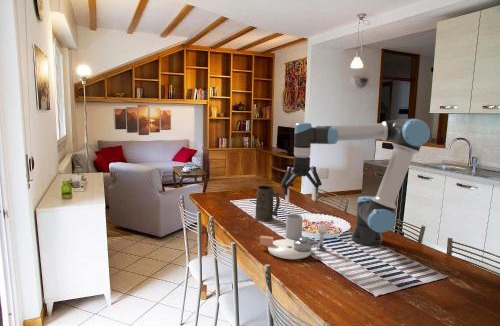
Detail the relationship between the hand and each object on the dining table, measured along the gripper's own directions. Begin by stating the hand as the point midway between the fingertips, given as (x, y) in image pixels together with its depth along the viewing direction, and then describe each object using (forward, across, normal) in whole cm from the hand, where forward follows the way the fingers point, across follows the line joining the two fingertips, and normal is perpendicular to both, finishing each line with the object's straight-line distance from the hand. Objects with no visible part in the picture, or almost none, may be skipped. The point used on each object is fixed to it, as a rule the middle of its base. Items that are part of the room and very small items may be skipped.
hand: (300, 201), depth 165 cm
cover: (+21, +1, +7) cm, 22 cm away
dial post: (+23, -10, +4) cm, 26 cm away
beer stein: (+23, 0, -46) cm, 51 cm away
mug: (+23, -4, -17) cm, 29 cm away
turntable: (+22, +8, +3) cm, 24 cm away
